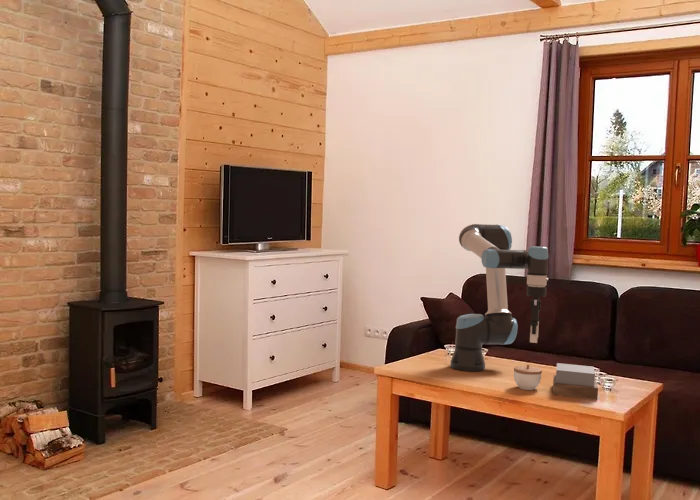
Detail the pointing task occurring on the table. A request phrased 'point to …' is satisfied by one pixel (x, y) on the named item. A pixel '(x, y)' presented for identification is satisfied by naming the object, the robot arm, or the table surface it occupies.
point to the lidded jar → (527, 377)
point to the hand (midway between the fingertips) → (534, 340)
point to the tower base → (575, 390)
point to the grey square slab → (575, 375)
